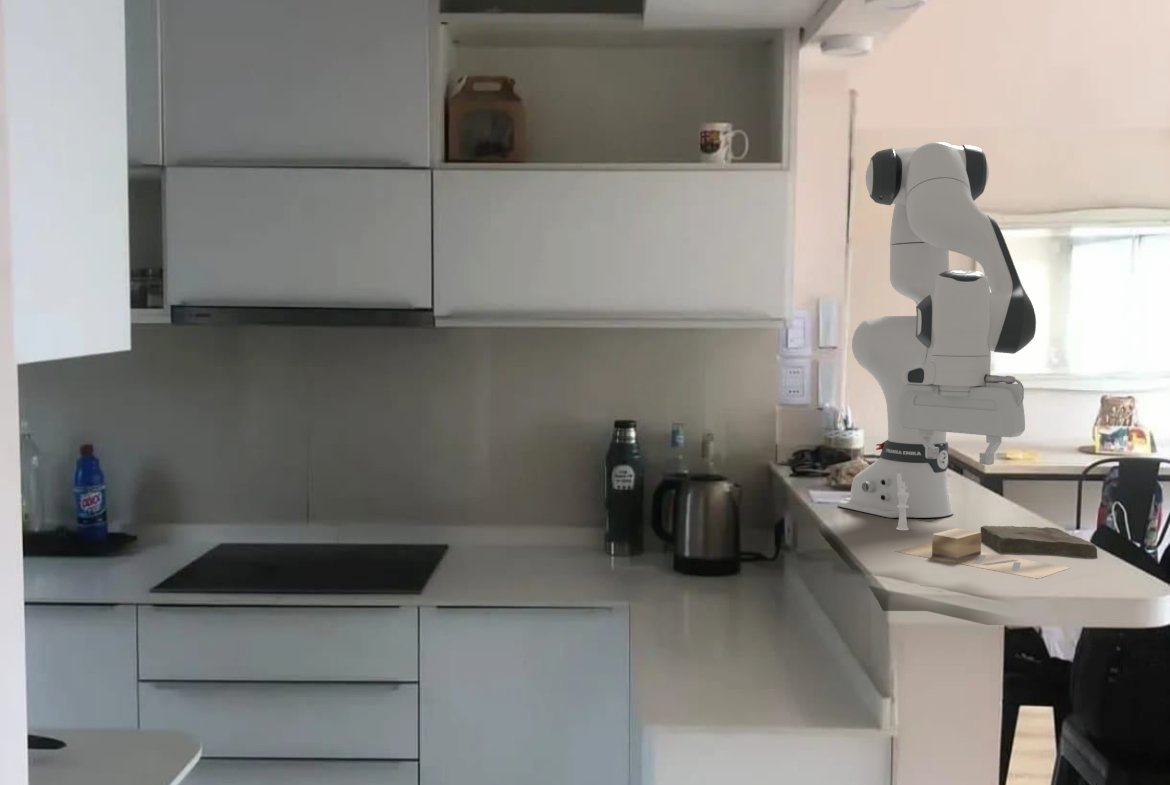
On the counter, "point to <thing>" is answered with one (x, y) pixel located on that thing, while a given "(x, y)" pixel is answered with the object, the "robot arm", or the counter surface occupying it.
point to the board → (993, 562)
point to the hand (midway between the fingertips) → (958, 461)
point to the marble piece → (1036, 541)
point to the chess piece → (902, 508)
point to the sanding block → (956, 544)
